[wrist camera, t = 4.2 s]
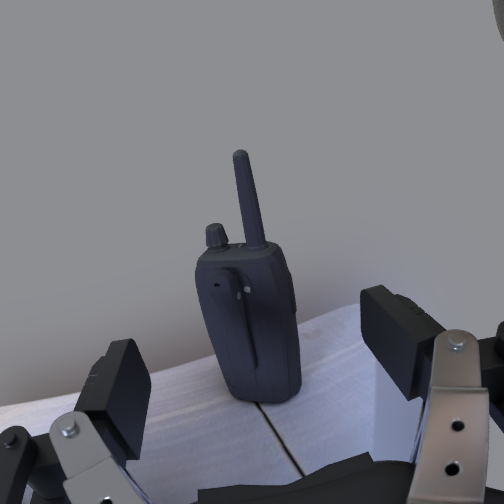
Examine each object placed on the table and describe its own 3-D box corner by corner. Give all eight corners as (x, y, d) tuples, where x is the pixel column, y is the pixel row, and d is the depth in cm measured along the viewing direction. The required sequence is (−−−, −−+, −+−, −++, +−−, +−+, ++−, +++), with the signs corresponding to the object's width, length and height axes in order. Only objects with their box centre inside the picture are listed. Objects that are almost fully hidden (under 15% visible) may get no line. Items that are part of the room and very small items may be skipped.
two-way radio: (310, 374, 21) (278, 142, 16) (296, 423, 17) (251, 148, 12) (235, 369, 23) (186, 159, 18) (211, 412, 19) (139, 171, 14)
